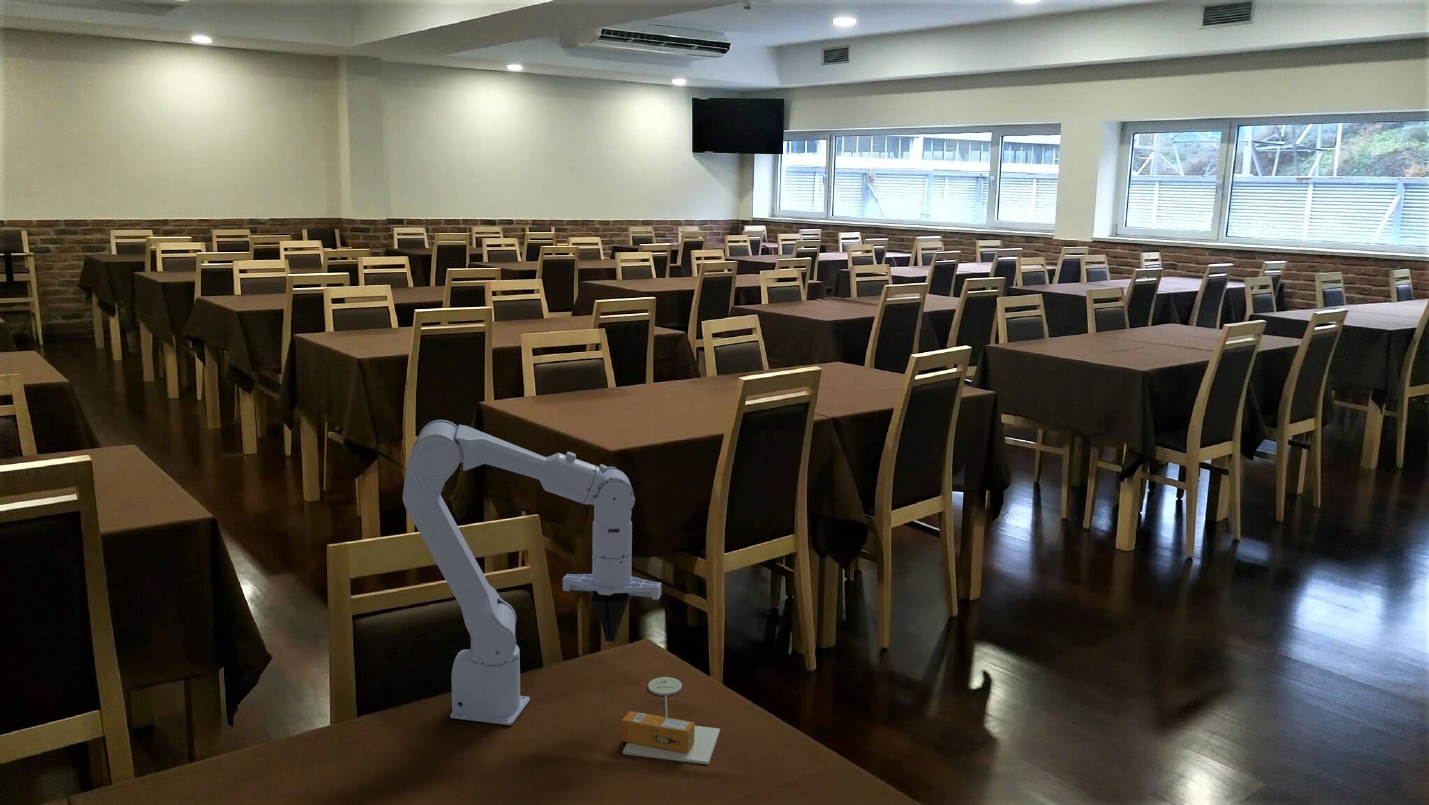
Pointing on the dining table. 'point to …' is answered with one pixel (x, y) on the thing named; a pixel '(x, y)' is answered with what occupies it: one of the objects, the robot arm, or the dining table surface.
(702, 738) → the mat
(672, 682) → the sign
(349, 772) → the dining table surface
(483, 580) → the robot arm
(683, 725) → the supplement box
